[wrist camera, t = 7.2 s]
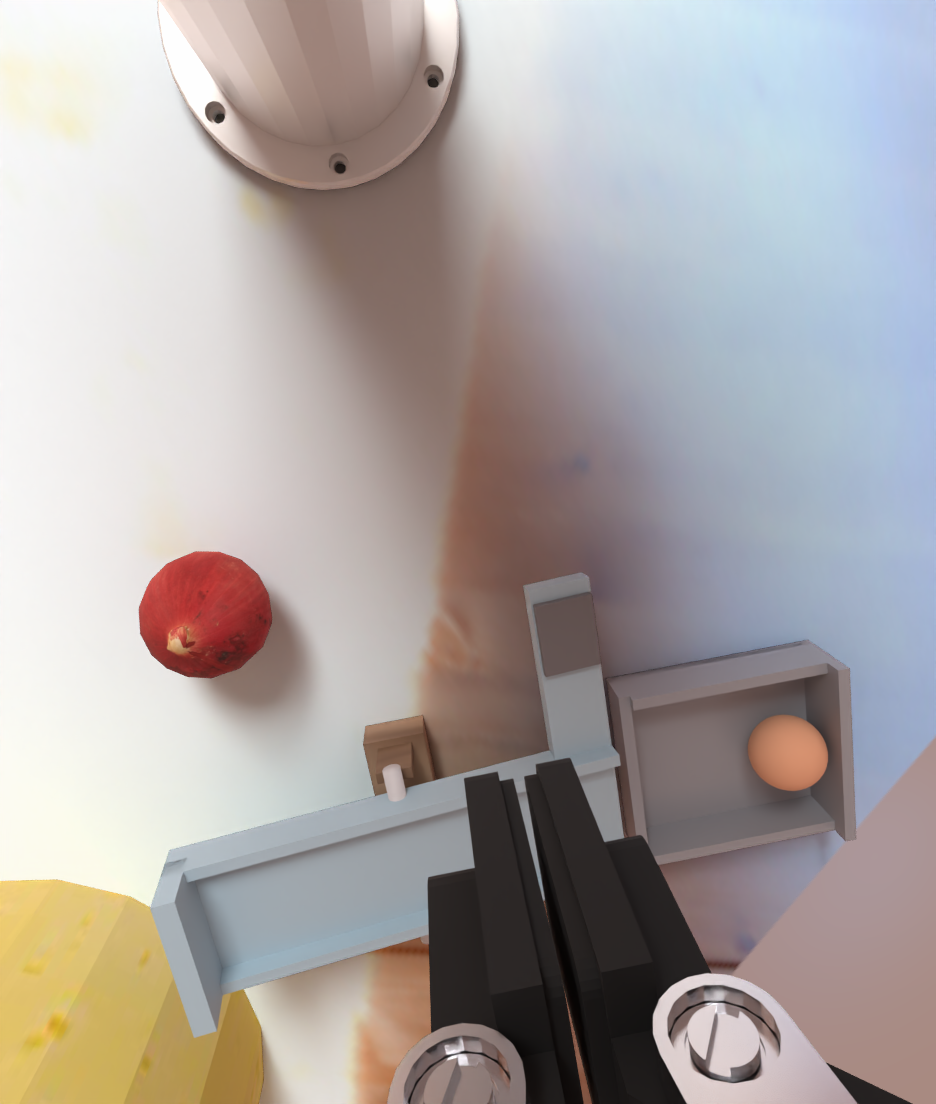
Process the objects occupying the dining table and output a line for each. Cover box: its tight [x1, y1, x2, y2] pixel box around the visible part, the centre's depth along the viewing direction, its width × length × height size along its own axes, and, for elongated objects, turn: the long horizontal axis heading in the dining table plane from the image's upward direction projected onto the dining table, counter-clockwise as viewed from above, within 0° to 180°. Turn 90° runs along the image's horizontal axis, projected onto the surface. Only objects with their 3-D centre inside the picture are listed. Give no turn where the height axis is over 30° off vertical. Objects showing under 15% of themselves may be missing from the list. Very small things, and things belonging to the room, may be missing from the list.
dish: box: [606, 640, 856, 865], centre depth 40 cm, size 10×12×4 cm
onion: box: [139, 552, 272, 678], centre depth 34 cm, size 6×6×8 cm
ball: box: [748, 715, 828, 791], centre depth 39 cm, size 4×4×4 cm
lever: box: [150, 572, 624, 1038], centre depth 34 cm, size 18×22×4 cm
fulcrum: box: [363, 715, 436, 796], centre depth 39 cm, size 10×3×4 cm, turn 10°
